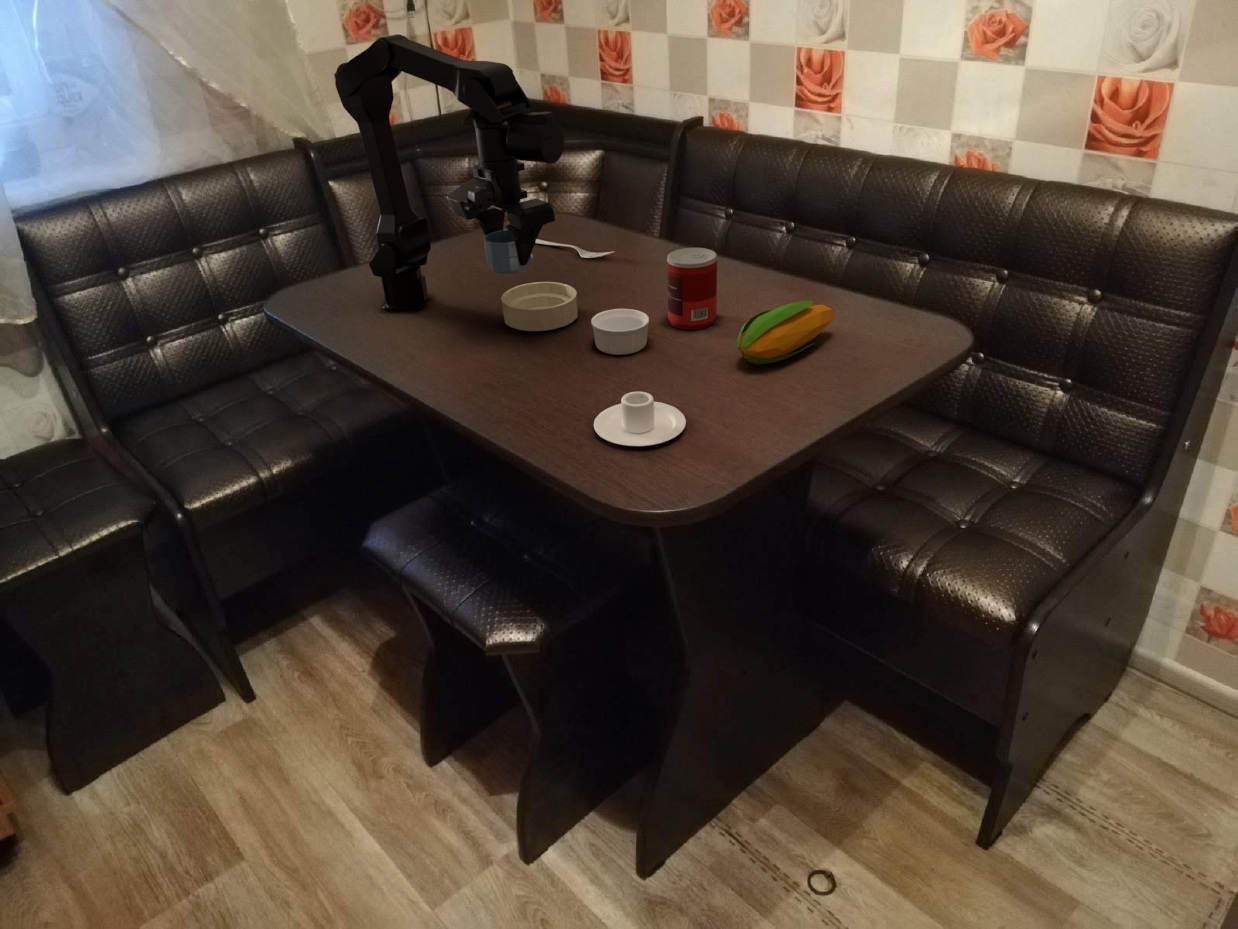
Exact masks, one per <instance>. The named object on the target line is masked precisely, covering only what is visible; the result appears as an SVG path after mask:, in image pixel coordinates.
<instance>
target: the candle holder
mask: <svg viewBox="0 0 1238 929" xmlns="http://www.w3.org/2000/svg"><path fill="white" fill-rule="evenodd" d="M654 399H655V398H654V396H653V395H652V394H651V393H649V392H645V391H631V392H628V393H625V394H624V395H622V397H621V399H620V403H618V404H615V405H612V406H609V407H608V408H606V409H604V410H602V411H601V412H600V413H599V414H598V415H597V416H596V417H595V418H594V421H593V428H594V431H595V433H597V435H598V436H599V437H600V438H602V439H603V440H605V441H607V442H609V443H612V444H616V445H621V446H627V447H648V446H654V445H659V444H663V443H666V442H668V441H670V440H673V439H675V438H676V437H677V436H679V435H680V434H681V433H682V432H683V431H684V429H685V428H686V425H687V420H686V416H685V414H683V412H682V411H680V410H679V409H678V408H677V407H675V406H673V405H671V404H667V403H664V402H660V401H655V400H654Z"/></svg>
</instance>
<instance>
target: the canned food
mask: <svg viewBox="0 0 1238 929" xmlns="http://www.w3.org/2000/svg"><path fill="white" fill-rule="evenodd" d="M666 258H667V259H666V278H667V279H666V282H667V284H666V286H667V318H668V321H669V323H670V325H671V326H672V327H674V328H677V329H681V330H687V331H690V330H691V331H692V330H694V331H695V330H701V329H705V328H708V327H710V326H711V325H713V324H714V323H715V322H716V318H717V305H718V304H717V303H718V302H717V301H718V300H717V299H718V296H717V295H718V294H717V292H718V255H717V253H716V252H715V251H714V250H712V249H709V248H706V247H683V248H679V249H676V250H672V251H671V252H669V254H667V257H666Z"/></svg>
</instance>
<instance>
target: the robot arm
mask: <svg viewBox="0 0 1238 929" xmlns="http://www.w3.org/2000/svg"><path fill="white" fill-rule="evenodd" d="M401 73H405V74H407V75H410V76H413V77H414V78H417V79H421V80H423V81H425V82H428V83H431V84H433V85H435V86H438V87H441V88H443V89H446V90H448V91H449V92H451V93H452V94H453V95H454V97H455V98H456V100H457V101H458V102H459V103H461V104H463V105H464V106H466V107H467V108H469V109H470V111H469V112H468V114H467V115H466V116H465V117H464V118H463V119H462V121H461V123H462V125H463V126H470V127H474V130H475V138H476V147H477V153H478V162H479V163H478V164H475V165H474V166H473V169H472V172H473V178H470V180H467V181H465V182H464V183H462V184H460V185H459V186H458V187H457V188H455V189H454V190H453V191H450V192H449V193H448V194H447V196H446V198H447V200H448V202H449V204H450V206H451V209H452V210H453V213H454V215H455V216H456V217H461V218H463V219H465V220H467V221H472V220H476V221H477V222H478V224H479V226H480V228H481V230H482V232H483V235H484V237H485V236H486V235H487V234H489V233H491V232H495V231H499V230H504V228H505V229H508V230H509V231H510V232H512V233H513V235H514V240H515V245H516V250H517V255H518V259H519V262H520V265H521V266H524V265H526V264H527V263H528V260H529V258H530V255H531V252H532V253H533V250H534V247H535V244H536V243H535V242H536V239H538V237H539V235H540V232H541V230H542V228H543V226H546V225H547V224H550V223H554V222H555V221H556V212H555V206H553V205H552V203H550V202H548V201H545V200H542V199H539V198H531V199H527V198H528V191H527V190H525V189H522V185H521V184H522V183H521V176H520V175H521V174H520V172H523V171H525V170H526V168H525V167H526V166H525V162H532V163H542V164H555V163H557V162H558V161H559V160H560V159H561V157H562V155H563V151H564V148H565V135H564V134H565V133H563V131H562V128H561V126H560V125H559V124H558V122H556V121H555V120H554V113H553V112H552V111H542V112H537V111H536V110H535V107H534V106H533V104H532V103H531V101H530V99H529V97H528V96H527V94H526V92H524V90H523V89H522V87H521V85H520V84H519V82H518V81H517V79H516V75H515V74H514V69H513V68H511V66H509V65H508V64H505V63H503V62H497V61H496V62H495V61H489V60H468V59H462V58H459V57H457V56H454V55H451V54H449V53H446V52H443V51H441V50H439V49H435V48H432V47H431V46H427V45H424V44H422V43H420V42H417V41H414V40H412V39H409V38H408V37H406V36H405V35H402V34H399V33H397V34H391V35H385V36H381V37H378V38H376V39H375V41H374V42H372V43H371V44H370V45H369V46H368V47H367V48H365V49H364V50H363V51H361V52H360V53H358V54H357V55H356V56H353V57H352V58H351V59H350V60H348V62H342V63H341V64H339V65H338V67H337V68H336V71H335V72H334V74H333V82H334V86H335V89H336V92H337V94H338V96H339V99H340V102H341V105H342V106H343V109H344V110H345V111H346V112H347V113H348V114H349V116H350V117H351V118H352V119H353V120H354V121H355V122H356V124H357V126H358V130H359V134H360V139H361V142H362V147H363V150H364V155H365V157H366V158H365V159H366V161H367V165H368V169H369V174H370V177H371V181H372V184H373V189H374V193H375V196H376V200H377V203H378V209H379V212H380V217H379V221H378V225H377V228H376V239H377V240H376V241H377V246H378V249H377V251H376V253H375V254H374V255H373V257H372V259H371V260H370V262H368V266H369V269H370V270H371V273H372V275H373V276H374V277H379V278H380V280H381V285H382V289H383V295H384V299H385V304H384V306H383V307H382V308H383V311H418V310H421V309H422V307H423V306H424V305H425V302H426V301H427V300H428V298H429V292H428V288H427V287H428V286H427V280H426V275H425V274H422V269H421V266H425V265H427V264H428V258H429V257H428V256H429V253H430V251H431V248H432V246H431V242H432V241H433V238H432V236H431V234H430V231H429V222H428V219H427V218H426V217H425V216H423V217H420V216H418V215H417V213H416V212H415V211H414V209H412V206H411V203H410V199H409V195H408V191H407V187H406V183H405V179H404V174H403V171H402V167H401V163H400V158H399V153H398V150H397V145H396V142H395V136H394V133H393V128H392V125H391V120H390V115H391V110H392V107H393V103H394V89H393V82H394V80H395V79H396V78H398V77H399V76H400V75H401ZM535 111H536V112H535ZM521 161H523V162H521ZM524 199H527V200H525V201H521V200H524ZM505 216H507V221H508V223H509V224H506V225H505Z"/></svg>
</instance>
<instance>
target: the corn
mask: <svg viewBox="0 0 1238 929" xmlns="http://www.w3.org/2000/svg"><path fill="white" fill-rule="evenodd" d="M813 304H814V301H813V300H801V301H793V302H790V303H787V304H784V305H781V306H779V307H776V308H774V309H770V310H769V309H768V310H765V311H762V312H759V313H758V314H756V315H753V316H752V317H750V318H749V319H748V320H747V321H746V322H745V323H744V324H743V325H742V326H741V327H740V330H739V333H738V335H737V339H736V345H737V347H738V351H739V354H740V356H741V359H743V360H745V361H748V362H749V363H750V364H754V365H758V366H760V365H767V364H772V363H773V364H774V363H776V362H781V361H784V360H786V359H789V358H790V357H793V356H795V355H798V354H800V353H801V352H803V351H804V350H806V349H808V348H809V347H811V346H813V345H814V344H816V342H812V343H811V344H809V345H807V344H808V343H810V342H811V341H812V340H813V339H815V338H816V337H817V336H818V335H819V334H820V333H822V331H824V330H825V328H827V326H829V325H830V324H831V323H832V322H833V321H834V320H835V310H834V309H832V308H830V307H829V306H827V305H824V304H816V305H813ZM798 349H799V350H798Z"/></svg>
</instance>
